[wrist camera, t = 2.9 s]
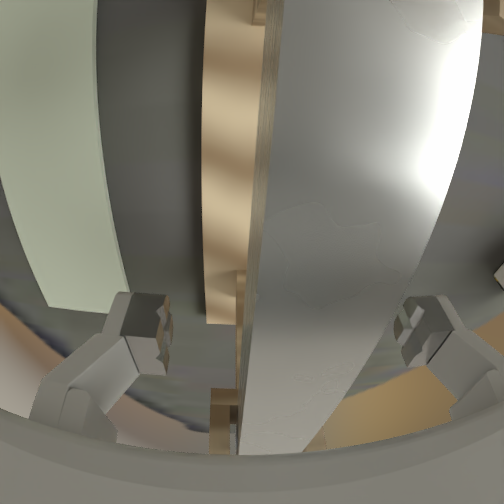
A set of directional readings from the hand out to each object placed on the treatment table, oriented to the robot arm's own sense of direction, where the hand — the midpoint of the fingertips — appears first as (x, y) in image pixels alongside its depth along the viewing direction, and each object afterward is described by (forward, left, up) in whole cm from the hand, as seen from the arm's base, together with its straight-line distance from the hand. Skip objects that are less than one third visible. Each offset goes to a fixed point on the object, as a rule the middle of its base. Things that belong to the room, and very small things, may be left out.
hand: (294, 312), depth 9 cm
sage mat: (0, -16, -13) cm, 20 cm away
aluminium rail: (0, 0, -1) cm, 1 cm away
